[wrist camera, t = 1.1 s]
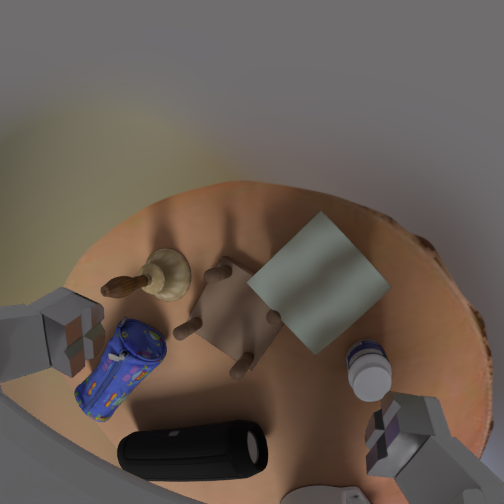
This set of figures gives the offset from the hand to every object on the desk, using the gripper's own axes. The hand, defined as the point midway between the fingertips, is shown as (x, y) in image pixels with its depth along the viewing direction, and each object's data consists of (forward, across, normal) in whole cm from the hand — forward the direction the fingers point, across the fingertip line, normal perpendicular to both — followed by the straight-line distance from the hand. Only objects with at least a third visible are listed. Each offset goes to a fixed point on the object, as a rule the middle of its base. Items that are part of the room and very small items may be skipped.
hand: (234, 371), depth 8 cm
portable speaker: (+30, -7, -43) cm, 53 cm away
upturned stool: (+35, -5, -18) cm, 39 cm away
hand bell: (+36, -18, -16) cm, 44 cm away
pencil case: (+33, -22, -34) cm, 53 cm away
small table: (+36, +5, -10) cm, 37 cm away
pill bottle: (+33, +14, -19) cm, 41 cm away
